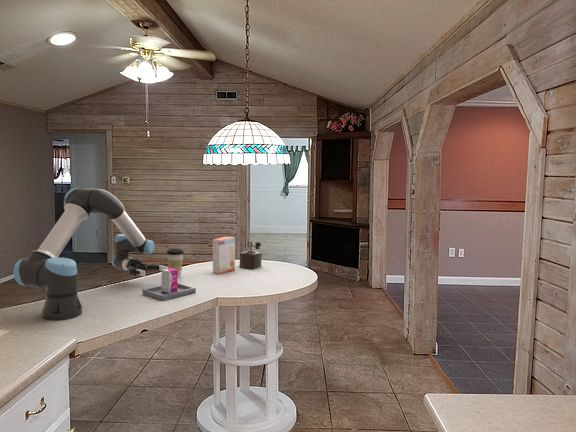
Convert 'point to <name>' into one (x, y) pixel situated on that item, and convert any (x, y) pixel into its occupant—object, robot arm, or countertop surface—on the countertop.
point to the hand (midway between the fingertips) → (156, 271)
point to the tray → (181, 291)
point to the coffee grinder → (251, 257)
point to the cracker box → (223, 255)
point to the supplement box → (169, 280)
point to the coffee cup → (175, 259)
